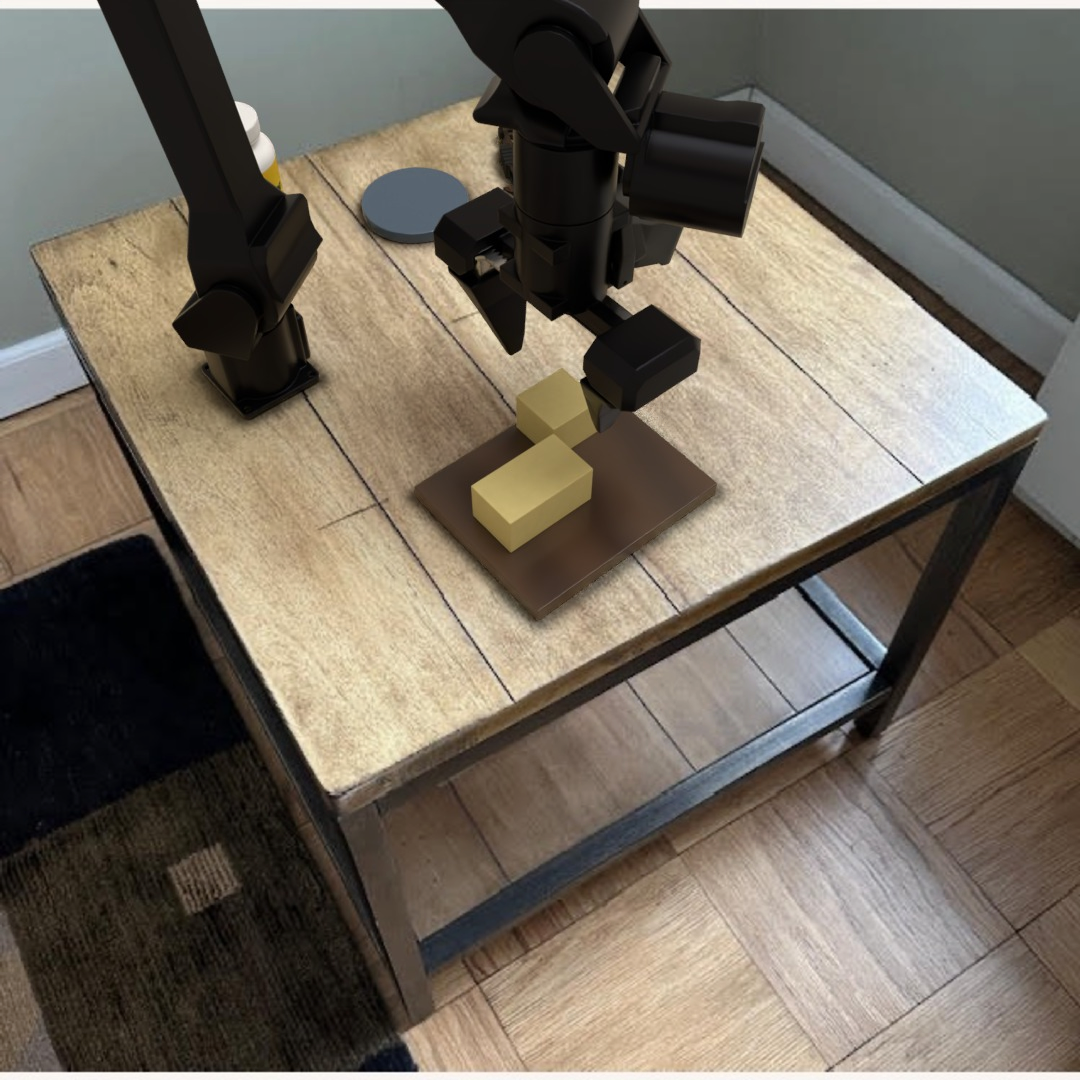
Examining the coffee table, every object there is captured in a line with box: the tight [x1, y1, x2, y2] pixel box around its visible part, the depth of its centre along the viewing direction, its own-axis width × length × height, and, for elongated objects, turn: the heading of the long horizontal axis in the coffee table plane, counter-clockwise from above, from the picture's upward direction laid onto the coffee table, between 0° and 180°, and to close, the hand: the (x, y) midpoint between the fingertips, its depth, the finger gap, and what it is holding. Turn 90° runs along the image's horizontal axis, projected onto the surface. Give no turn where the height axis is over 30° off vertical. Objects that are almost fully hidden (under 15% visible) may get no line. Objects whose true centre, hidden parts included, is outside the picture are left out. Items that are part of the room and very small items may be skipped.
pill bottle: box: [234, 100, 284, 192], centre depth 86 cm, size 6×6×11 cm
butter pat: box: [515, 367, 598, 449], centre depth 76 cm, size 4×4×3 cm
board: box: [413, 411, 718, 622], centre depth 75 cm, size 16×13×1 cm
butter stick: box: [471, 434, 593, 552], centre depth 72 cm, size 7×4×3 cm, turn 130°
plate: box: [361, 166, 470, 244], centre depth 93 cm, size 9×9×1 cm
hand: (558, 389), depth 74 cm, fingers open, 9 cm apart
